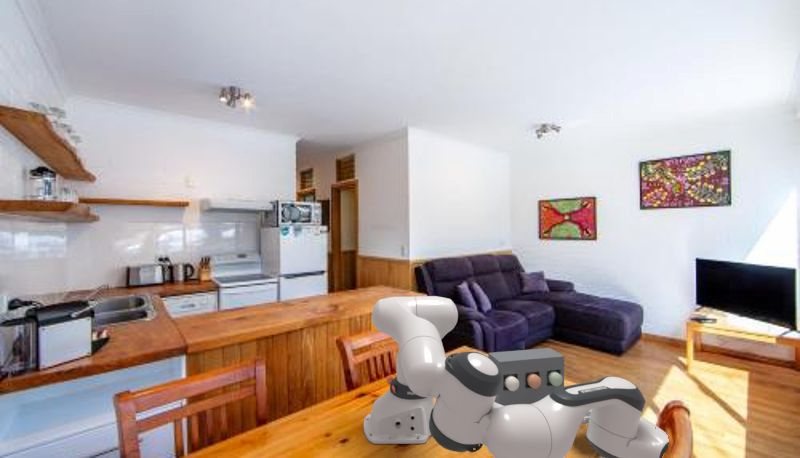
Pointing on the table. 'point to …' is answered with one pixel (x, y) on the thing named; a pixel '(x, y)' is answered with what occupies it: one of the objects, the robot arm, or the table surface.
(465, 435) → the robot arm
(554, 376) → the sage button
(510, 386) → the cream button
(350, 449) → the table surface
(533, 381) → the terracotta button
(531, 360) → the control box
